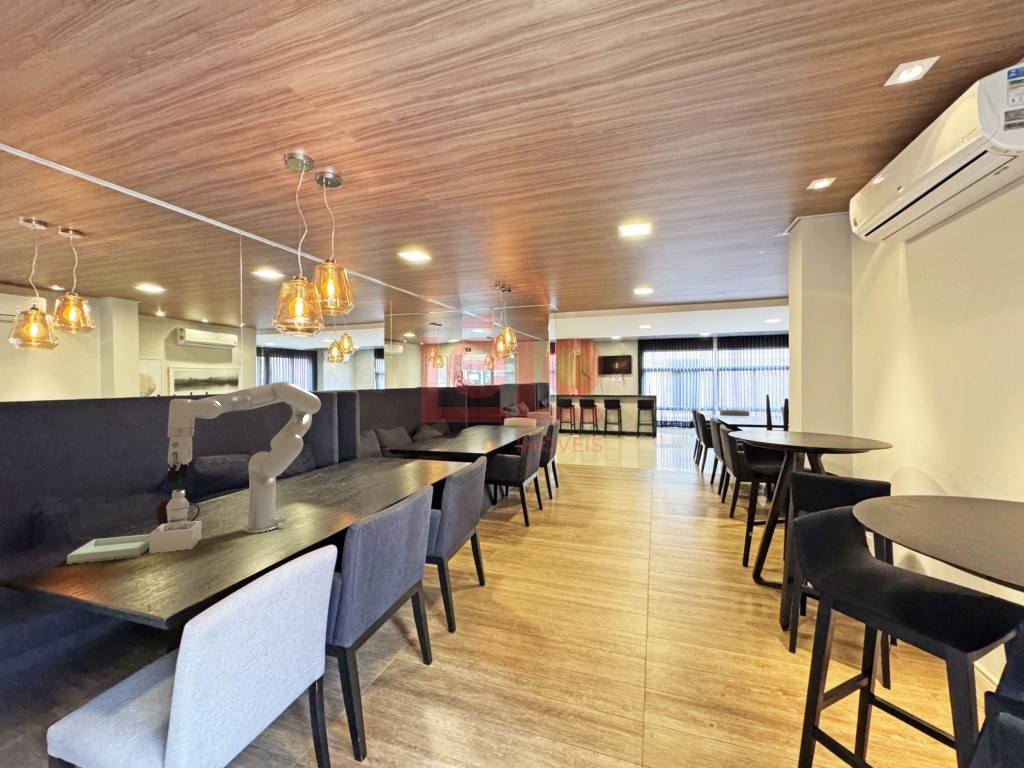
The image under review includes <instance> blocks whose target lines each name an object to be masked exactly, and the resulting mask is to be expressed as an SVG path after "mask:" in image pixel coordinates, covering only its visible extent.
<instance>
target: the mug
mask: <svg viewBox="0 0 1024 768" xmlns="http://www.w3.org/2000/svg"><path fill="white" fill-rule="evenodd" d="M170 500H171V499H169V500H162V501H159V502H157V503H156V504H155V514H156V519H157V525H158V527H159V526H160V525H162V524H168V516H167V509H166V506H167V504H168V503H169V501H170ZM187 501H188V502H189V500H188V499H187ZM189 505H190V506H191V505H193V506H195V507H196V508H197V514H196V515H195V516H194V517H193V518H192V519H191V520H190V521H189V522H193V521H196V519H197V518H198V516H199V515H200V512H201V509H200V506H199V505H198V504H196V503H194V502H189Z"/></svg>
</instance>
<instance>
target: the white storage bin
mask: <svg viewBox="0 0 1024 768" xmlns="http://www.w3.org/2000/svg"><path fill="white" fill-rule="evenodd" d="M186 524H187V529H183V530H171V531H167V527H168V524H162V525H160V526H158V527H156V528H155V529H153V530H151V532H150V533H149V534H150V546H149V549H148V550H149V551H148V554H149V553H151V554H157V553H156V552H160V553H167V552H166V551H169V552H176V550H179V551H187V550H186V549H188V550H192V549H193V548H194V547H195V546H196V545H197V544H198V543H199V542H200V541H201V540H202V520H194V521H193V522H190V521H187V522H186ZM200 539H201V540H200ZM199 540H200V541H199ZM198 541H199V542H198Z"/></svg>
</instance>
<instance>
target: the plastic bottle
mask: <svg viewBox="0 0 1024 768" xmlns="http://www.w3.org/2000/svg"><path fill="white" fill-rule="evenodd" d="M171 492H172V493H171V497H172V498H171V499H169V500H170V501H169V503H168V504H167V506H166V509H167V516H168V527H167V531H171V530H183V529H187V524H186V522H188V520H187V519H188V512H189V507H190V504H189V503H190V502H189V500H188V499H187V498H186V497H185V496H186V489H176V490H175V489H174V490H172V491H171ZM187 500H188V501H187Z"/></svg>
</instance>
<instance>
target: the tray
mask: <svg viewBox="0 0 1024 768" xmlns="http://www.w3.org/2000/svg"><path fill="white" fill-rule="evenodd" d="M149 546H150V533H149V534H140V535H139V534H138V535H137V534H136V535H129V536H128V535H127V536H126V535H125V536H117V537H106V538H93V539H92V540H90V541H88V542H86V543H85V544H84V545H82V546H80V547H79V548H76V549H75V550H73V551H72V552H71V553H69V554H67V555H66V556H67V557H66V565H67V564H70V565H73V564H72V563H79V564H86V563H85V562H88V563H94V562H95V561H97V562H105V561H106V560H107V561H114V559H116V560H123V558H125V559H133V558H132V557H135V558H139V557H140V556H141V554H142V553H143V554H144V553H145V552H146V551H148V550H149V549H148V548H149ZM147 549H148V550H147ZM143 554H142V555H143ZM95 563H96V562H95Z"/></svg>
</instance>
